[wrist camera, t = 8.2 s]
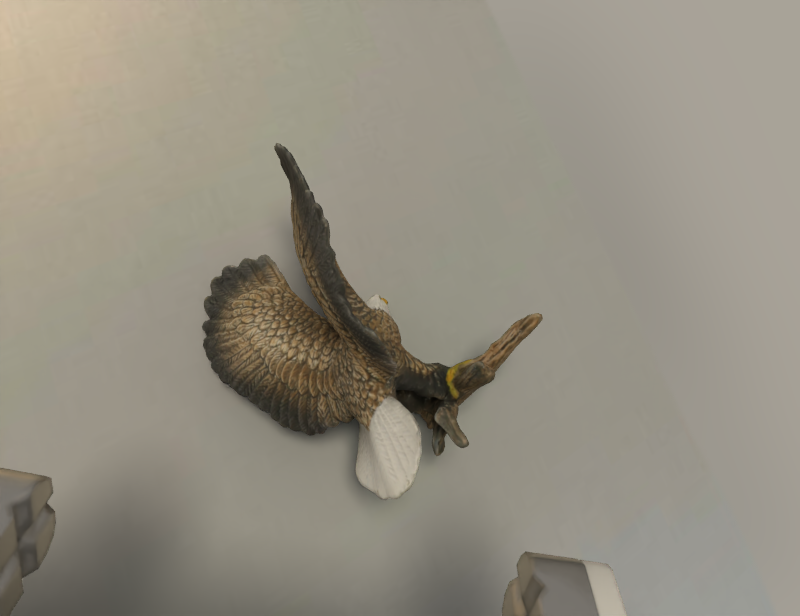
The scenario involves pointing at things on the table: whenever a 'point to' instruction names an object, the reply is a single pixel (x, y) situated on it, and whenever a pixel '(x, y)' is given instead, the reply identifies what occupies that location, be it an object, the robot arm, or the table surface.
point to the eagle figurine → (337, 354)
